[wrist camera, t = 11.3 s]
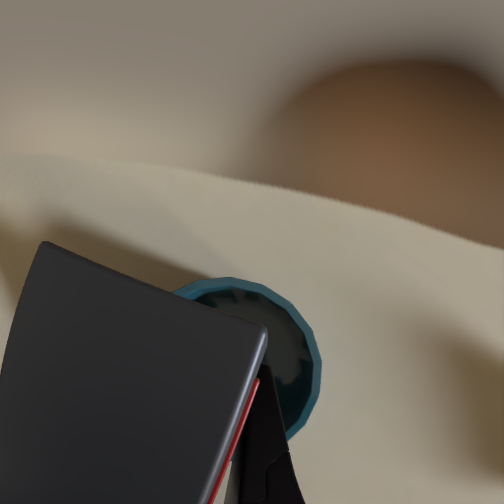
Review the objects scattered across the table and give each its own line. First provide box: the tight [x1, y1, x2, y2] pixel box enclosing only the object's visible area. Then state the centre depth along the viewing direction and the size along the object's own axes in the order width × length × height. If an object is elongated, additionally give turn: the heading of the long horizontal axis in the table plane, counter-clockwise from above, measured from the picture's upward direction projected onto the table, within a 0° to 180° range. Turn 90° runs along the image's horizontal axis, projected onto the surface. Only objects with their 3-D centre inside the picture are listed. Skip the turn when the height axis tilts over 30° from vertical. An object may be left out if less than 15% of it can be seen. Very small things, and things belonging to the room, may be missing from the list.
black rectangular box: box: [0, 241, 268, 504], centre depth 9 cm, size 5×3×14 cm
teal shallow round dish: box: [172, 277, 322, 461], centre depth 17 cm, size 10×10×4 cm
